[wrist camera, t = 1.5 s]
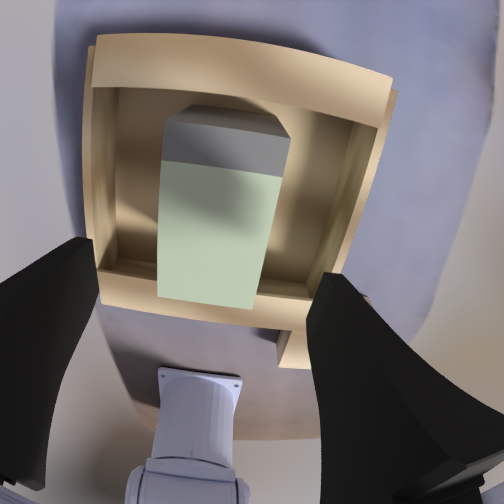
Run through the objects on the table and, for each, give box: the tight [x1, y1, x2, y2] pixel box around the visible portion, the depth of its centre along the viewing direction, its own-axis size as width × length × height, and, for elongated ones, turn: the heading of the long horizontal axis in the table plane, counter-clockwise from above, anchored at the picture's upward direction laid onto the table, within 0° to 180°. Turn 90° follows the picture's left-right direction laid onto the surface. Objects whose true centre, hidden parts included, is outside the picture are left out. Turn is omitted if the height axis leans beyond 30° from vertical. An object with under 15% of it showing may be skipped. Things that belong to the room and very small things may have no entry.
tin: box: [157, 104, 291, 310], centre depth 15 cm, size 8×4×6 cm, turn 170°
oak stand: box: [276, 297, 373, 369], centre depth 23 cm, size 6×6×2 cm
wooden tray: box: [82, 33, 398, 332], centre depth 16 cm, size 15×14×4 cm
